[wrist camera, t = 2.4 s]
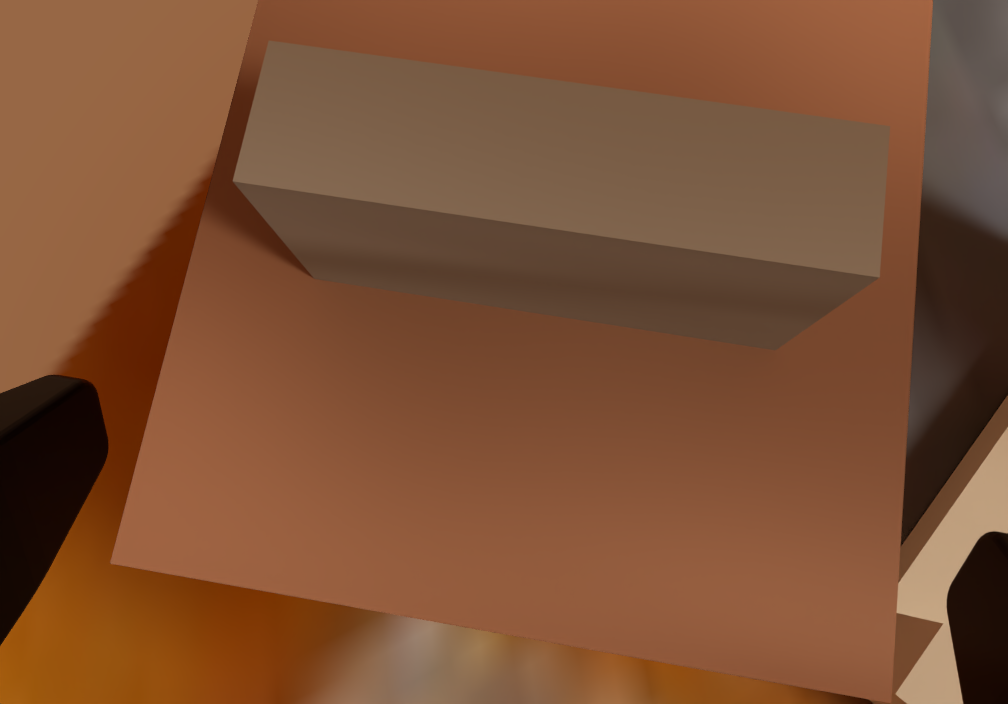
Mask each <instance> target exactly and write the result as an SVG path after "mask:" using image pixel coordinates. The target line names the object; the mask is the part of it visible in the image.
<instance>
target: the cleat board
mask: <svg viewBox="0 0 1008 704" xmlns="http://www.w3.org/2000/svg"><path fill="white" fill-rule="evenodd" d="M992 531H998V532H1004V533H1008V395H1007V397H1006V398H1005V400H1004V401H1003V403H1002V404H1001V405H1000V407H999V408H998V410H997V411H996V412H995V414H994V415H993V417H992V418H991V420H990V421H989V422H988V424H987V425H986V427H985V428H984V429H983V431H982V432H981V434H980V435H979V437H978V438H977V439H976V441H975V442H974V444H973V445H972V447H971V448H970V449H969V451H968V452H967V454H966V455H965V456H964V458H963V459H962V461H961V462H960V464H959V465H958V466H957V468H956V469H955V471H954V472H953V473H952V475H951V476H950V478H949V479H948V481H947V482H946V483H945V485H944V486H943V488H942V489H941V490H940V492H939V493H938V495H937V496H936V498H935V499H934V500H933V502H932V503H931V505H930V506H929V508H928V509H927V510H926V512H925V513H924V515H923V516H922V517H921V519H920V520H919V522H918V523H917V525H916V526H915V527H914V529H913V530H912V532H911V533H910V534H909V536H908V537H907V539H906V540H905V542H904V543H903V544H902V546H901V547H900V563H899V580H898V597H897V613H896V630H895V647H894V664H893V681H892V698H891V703H886V702H881V701H875V700H870V701H871V702H872V703H873V704H963V700H962V694H961V689H960V683H959V677H958V672H957V666H956V660H955V655H954V649H953V643H952V638H951V632H950V626H949V621H948V615H947V594H948V590H949V587H950V585H951V583H952V581H953V580H954V578H955V576H956V575H957V573H958V571H959V570H960V568H961V567H962V565H963V563H964V562H965V560H966V558H967V557H968V555H969V553H970V552H971V550H972V549H973V547H974V545H975V544H976V542H977V541H978V539H979V538H980V537H981V536H982V535H984V534H985V533H987V532H992ZM868 700H869V699H868Z"/></svg>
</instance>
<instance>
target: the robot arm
mask: <svg viewBox="0 0 1008 704" xmlns="http://www.w3.org/2000/svg"><path fill="white" fill-rule="evenodd" d="M107 454H108V437H107V433H106V428H105V424H104V419H103V415H102V411H101V406H100V402H99V397H98V393H97V390H96V388H95V387H94V385H93V384H92V383H91V382H89V381H87V380H84V379H79V378H73V377H67V376H61V375H48V376H44V377H42V378H39V379H36V380H34V381H31V382H29V383H26V384H24V385H21V386H19V387H16V388H13V389H11V390H8V391H6V392H3V393H0V645H1V644H2V642H3V641H4V639H5V638H6V636H7V635H8V634H9V632H10V631H11V629H12V628H13V626H14V625H15V623H16V622H17V620H18V619H19V617H20V616H21V614H22V613H23V611H24V610H25V608H26V606H27V605H28V603H29V602H30V600H31V599H32V597H33V595H34V594H35V592H36V591H37V589H38V587H39V586H40V584H41V582H42V580H43V579H44V577H45V575H46V573H47V572H48V570H49V568H50V566H51V564H52V562H53V561H54V559H55V557H56V555H57V553H58V551H59V549H60V547H61V545H62V544H63V542H64V540H65V538H66V536H67V534H68V532H69V530H70V528H71V527H72V525H73V523H74V521H75V519H76V517H77V515H78V513H79V511H80V510H81V508H82V506H83V504H84V502H85V500H86V498H87V496H88V494H89V493H90V491H91V489H92V487H93V485H94V483H95V481H96V479H97V477H98V476H99V474H100V472H101V470H102V468H103V466H104V464H105V461H106V458H107ZM947 615H948V621H949V626H950V632H951V638H952V643H953V649H954V655H955V660H956V666H957V672H958V677H959V683H960V689H961V694H962V700H963V704H1008V533H1004V532H998V531H992V532H987V533H985V534H984V535H982V536H981V537H980V538H979V539H978V541H977V542H976V544H975V545H974V547H973V549H972V550H971V552H970V553H969V555H968V557H967V558H966V560H965V562H964V563H963V565H962V567H961V568H960V570H959V571H958V573H957V575H956V576H955V578H954V580H953V581H952V583H951V585H950V587H949V590H948V594H947Z"/></svg>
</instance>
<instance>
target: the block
mask: <svg viewBox="0 0 1008 704" xmlns="http://www.w3.org/2000/svg"><path fill="white" fill-rule="evenodd" d="M932 8H933V0H258V4H257V8H256V12H255V15H254V19H253V23H252V27H251V31H250V35H249V38H248V42H247V46H246V49H245V53H244V57H243V61H242V65H241V68H240V72H239V76H238V80H237V84H236V87H235V91H234V95H233V99H232V102H231V106H230V110H229V114H228V118H227V122H226V125H225V129H224V133H223V137H222V140H221V144H220V148H219V152H218V156H217V159H216V163H215V167H214V171H213V175H212V178H211V182H210V186H209V190H208V194H207V197H206V201H205V205H204V209H203V213H202V216H201V220H200V224H199V228H198V232H197V235H196V239H195V243H194V247H193V250H192V254H191V258H190V262H189V266H188V269H187V273H186V277H185V281H184V285H183V288H182V292H181V296H180V300H179V304H178V307H177V311H176V315H175V319H174V323H173V326H172V330H171V334H170V338H169V342H168V345H167V349H166V353H165V357H164V361H163V364H162V368H161V372H160V376H159V380H158V383H157V387H156V391H155V395H154V399H153V402H152V406H151V410H150V414H149V418H148V421H147V425H146V429H145V433H144V436H143V440H142V444H141V448H140V452H139V455H138V459H137V463H136V467H135V471H134V474H133V478H132V482H131V486H130V490H129V493H128V497H127V501H126V505H125V509H124V512H123V516H122V520H121V524H120V528H119V531H118V535H117V539H116V543H115V547H114V550H113V554H112V558H111V562H110V564H115V565H121V566H127V567H132V568H138V569H143V570H149V571H154V572H160V573H166V574H171V575H177V576H182V577H188V578H194V579H199V580H205V581H210V582H216V583H221V584H227V585H233V586H238V587H244V588H249V589H255V590H261V591H266V592H272V593H277V594H283V595H289V596H294V597H300V598H305V599H311V600H316V601H322V602H328V603H333V604H339V605H344V606H350V607H356V608H361V609H367V610H372V611H378V612H383V613H389V614H395V615H400V616H406V617H411V618H417V619H423V620H428V621H434V622H439V623H445V624H450V625H456V626H462V627H467V628H473V629H478V630H484V631H490V632H495V633H501V634H506V635H512V636H518V637H523V638H529V639H534V640H540V641H545V642H551V643H557V644H562V645H568V646H573V647H579V648H585V649H590V650H596V651H601V652H607V653H612V654H618V655H624V656H629V657H635V658H640V659H646V660H652V661H657V662H663V663H668V664H674V665H679V666H685V667H691V668H696V669H702V670H707V671H713V672H719V673H724V674H730V675H735V676H741V677H747V678H752V679H758V680H763V681H769V682H774V683H780V684H786V685H791V686H797V687H802V688H808V689H814V690H819V691H825V692H830V693H836V694H841V695H847V696H853V697H858V698H864V699H869V700H875V701H881V702H886V703H891V698H892V681H893V664H894V647H895V630H896V613H897V597H898V580H899V563H900V546H901V529H902V512H903V496H904V479H905V462H906V445H907V428H908V412H909V395H910V378H911V361H912V344H913V327H914V311H915V294H916V277H917V260H918V243H919V226H920V210H921V193H922V176H923V159H924V142H925V125H926V109H927V92H928V75H929V58H930V41H931V24H932Z"/></svg>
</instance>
